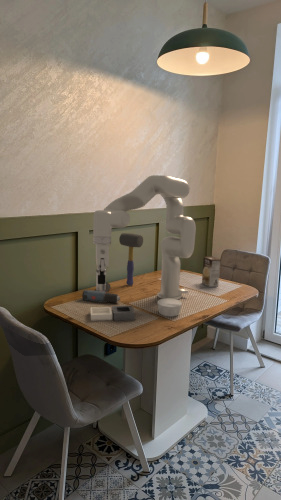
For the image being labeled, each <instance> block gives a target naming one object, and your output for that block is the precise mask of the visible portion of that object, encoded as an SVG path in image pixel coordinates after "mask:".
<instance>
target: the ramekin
mask: <svg viewBox="0 0 281 500" xmlns="http://www.w3.org/2000/svg"><path fill="white" fill-rule="evenodd" d="M156 302H157V303H156V304H157V310H158V312H159V314H160V315H162V316H164V317H177V316H179V315H180V312H181V308H182V304H183V303H182V301H181V300H180V299H178V300H176V299H170V298H164V299H161V298H159V300H157V301H156Z"/></svg>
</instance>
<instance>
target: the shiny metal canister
mask: <svg viewBox="0 0 281 500" xmlns="http://www.w3.org/2000/svg"><path fill="white" fill-rule="evenodd" d="M100 270H101V269H100ZM95 272H96V273H95V274H96V281H95V283H96V284H95V287H96V288H95V290H98V291H104V290H106V281H107V277H106V278H105V284H98V275H99V268H98V267H97V268H96V269H95ZM105 275H106V276H107V268H105Z"/></svg>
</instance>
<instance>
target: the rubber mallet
mask: <svg viewBox="0 0 281 500" xmlns="http://www.w3.org/2000/svg"><path fill="white" fill-rule="evenodd" d="M143 243H144V237H143V235H141V234H135V233H131V232H129V233H127V232H122V233H121V234H120V235H119V244H120V245H121V246H125V247H128V257H127V258H128V261H127V263H126V264H127V265H126V272H127V275H126V277H127V278H126V286H128V287H132V286H133V285H134V268H135V267H134V266H135V265H134V264H135V263H134V248H141V247H142V246H143Z"/></svg>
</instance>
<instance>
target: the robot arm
mask: <svg viewBox="0 0 281 500" xmlns="http://www.w3.org/2000/svg"><path fill="white" fill-rule="evenodd" d="M190 189H191V188H190V185H189V183H188V181H186V180H184V179H181V178H176V177H173V176H169V175H157V174H156V175H155V174H153V175H149V176H148V177H146V178H145V179H144V180H143V181H142V182H140V184H138V185H137V186H136V187H135V188H134V189H133V190H132V191H130V192H129V193H126V194H124V195H122V196H120V197H118V198H116V199H114V200H112V202H110V203H109V204H108V205H107V206H106V207H104V209H102V210H99V209H98V210H95V211H94V212H93V224H92V225H93V235H92V244H93V245H95V263H96V267H97V268H99V275H98V284H105V278H106V279H107V274H106V275H105V269H109V268H110V264H109V263H110V248H109V247H110V245H111V244H112V229H113V228H118V229H123V228H126V227H128V226H129V224H130V222H131V217H130V214H129V213H128V212H129V211H133V210H138V209H142V208H143V207H145V206H147V204H148V203H149V202H150V201H151V200H152V199H153V198H154V197H155V196H156V195H157V196H158V195H159V196H161V197H162V200H164V202H165V206H166V208H165V209H166V210H165V224H164V226H165V231H166V232H167V233H168V234H172V235H178V236H180V237H178V236H170V235H169V236H166V237H163V239H162V240H161V242H160V251H161V252H160V253H161V274H160V275H161V276H160V277H161V278H160V291H159V292H157V295H156V296H157V297H158V299H164V298H170V299H176V300H180V299H182V295H183V294H185V295H186V294H187V295H188V294H189V290H188V289H185V288H182V289H181V288H180V283H181V282H180V280H181V279H180V278H181V277H180V276H181V260H180V258H181V259H189V258H191V256H192V255H193V254H194V249H195V242H196V232H197V229H196V228H197V225H196V223H195V220H194V219H193V218H192V217H190V216H184V202H183V200H182V199H184V198H186V197H188V195H189V194H190ZM100 269H101V270H100Z"/></svg>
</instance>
